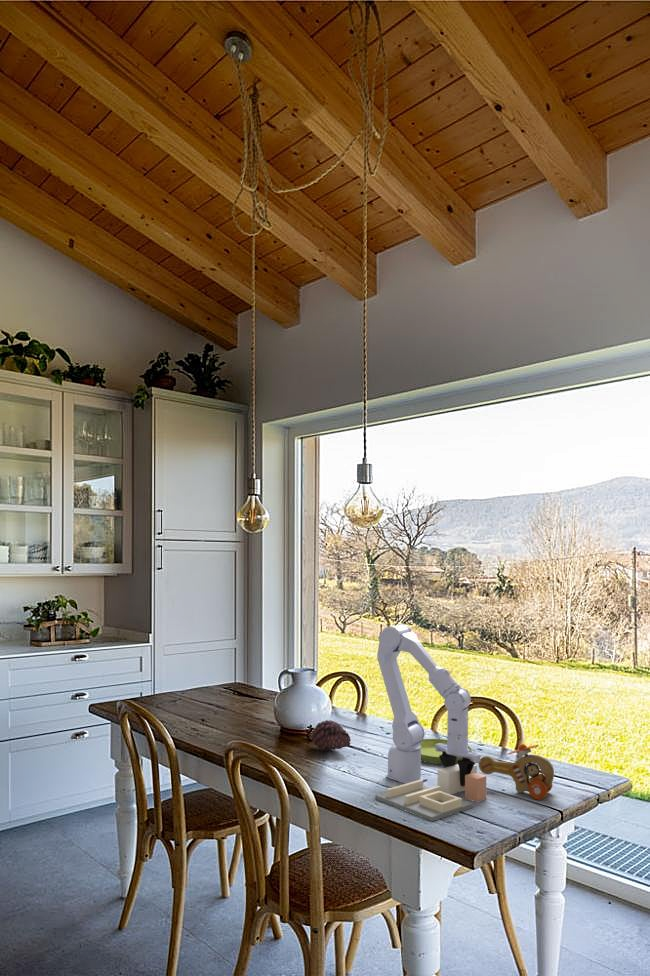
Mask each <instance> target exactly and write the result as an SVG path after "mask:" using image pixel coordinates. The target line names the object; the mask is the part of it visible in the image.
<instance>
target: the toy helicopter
mask: <svg viewBox="0 0 650 976" xmlns="http://www.w3.org/2000/svg"><path fill="white" fill-rule="evenodd" d="M539 746H540V745H539V744H535V745H533V744H532V745H529V746H527V745H526V744H524V743H521V744H519V746H518V749H516V750H513V751H510V752H509V753H508V755H511V754H512V755H513V754H515V753H518V756H519V757H520V758H519V759H517V760H516V761H515V762H512V761H511V762H510V761H500V760H496V759H495V758H493V757H492V756H490V755H485V756H483V757H480V762H478V768H479V771H481V773H482V774H483V775H492V774H493V773H496V774H502V775H507V776H509V777H511V779H512V780H513V781H514V783H515V791H516V792H517V793H519V794H523V793H524V792H528V793H529V795H530V796H531V797H532V798H533V799H535V800H537V799H538V800H537V801H539V800H540V801H541V800H543V799H545V798H546V797H547V796H548V795H547V794H548V793H549V792H550V791H551V790H552V788H553V781H554V778H555V770H554V765H553V764H552V763H551V761H550V760H549V759H547V758H546V757H544V756H542V755H538V754H529V753H531V752H532V750H531V749H536V748H538V747H539Z"/></svg>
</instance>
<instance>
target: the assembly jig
mask: <svg viewBox="0 0 650 976" xmlns="http://www.w3.org/2000/svg"><path fill="white" fill-rule="evenodd" d="M375 800H377V801H380V802H382V803H385V804H386V805H390V806H392V805H393V806H392V807H394V808H397V807H398V808H397V809H401V810H402V809H403V811H405V810H406V811H405V812H407V811H408V813H410V812H411V813H410V814H412V813H414V814H413V815H415V814H416V815H415V816H417V815H418V817H420V816H421V818H422V817H423V818H422V819H425V818H426V819H425V820H427V819H428V820H427V821H430V822H434V821H437V820H441V819H443V818H446V817H449V816H452V815H455V814H457V813H461V812H464V811H466V810H469V809H470V810H471V809H472V808H474V803H473V802H471V801H468V800H466V799H462V798H461V797H459V796H456V795H454V794H452V795H451V794H448V793H445V792H442V791H441V787H440V786H437V785H436V786H431V787H427V786H425V785H424V781H423V780H417V781H414V782H410V783H407V784H405V783H402V784H400V785H397V786H393V787H389V788H386V791H385V792H381V793H378V794H375ZM463 810H464V811H463ZM460 811H461V812H460ZM454 813H455V814H454Z"/></svg>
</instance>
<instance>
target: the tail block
mask: <svg viewBox="0 0 650 976" xmlns="http://www.w3.org/2000/svg"><path fill="white" fill-rule="evenodd" d="M464 798H465V799H466V800H469V799H470V800H469V801H472V800H473V802H475V801H476V803H478V801H479V802H481V800H482V801H484V799H485V800H487V775H485V774H480V773H471V774H468V775H465V790H464Z"/></svg>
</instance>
